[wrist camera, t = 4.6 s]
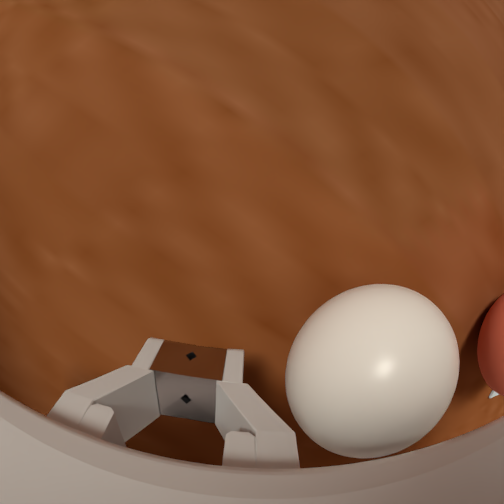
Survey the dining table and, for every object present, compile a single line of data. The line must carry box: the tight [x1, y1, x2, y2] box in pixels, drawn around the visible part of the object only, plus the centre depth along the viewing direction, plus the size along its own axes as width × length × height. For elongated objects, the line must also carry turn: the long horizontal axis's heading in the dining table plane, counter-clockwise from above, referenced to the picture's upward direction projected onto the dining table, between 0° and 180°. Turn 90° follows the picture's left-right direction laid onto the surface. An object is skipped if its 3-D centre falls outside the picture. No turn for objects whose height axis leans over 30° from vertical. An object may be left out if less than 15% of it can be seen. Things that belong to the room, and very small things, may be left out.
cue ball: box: [285, 284, 460, 458], centre depth 7 cm, size 6×6×6 cm
